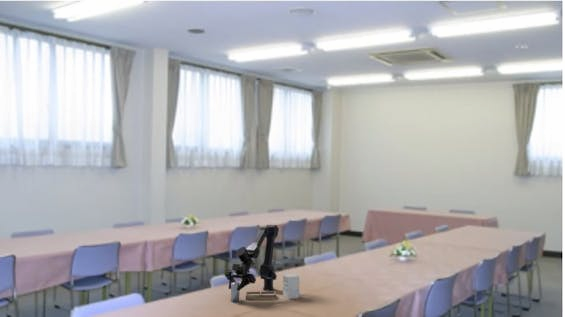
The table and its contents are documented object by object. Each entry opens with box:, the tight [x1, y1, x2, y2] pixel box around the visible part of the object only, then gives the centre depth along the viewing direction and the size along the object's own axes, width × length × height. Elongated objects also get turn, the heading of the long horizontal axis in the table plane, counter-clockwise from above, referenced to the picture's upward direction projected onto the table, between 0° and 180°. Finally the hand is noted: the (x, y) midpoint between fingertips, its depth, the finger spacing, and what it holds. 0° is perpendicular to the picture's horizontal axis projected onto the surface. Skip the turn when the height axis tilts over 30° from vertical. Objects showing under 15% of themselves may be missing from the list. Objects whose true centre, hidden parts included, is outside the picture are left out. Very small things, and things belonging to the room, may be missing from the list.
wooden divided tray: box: [245, 290, 277, 301], centre depth 294 cm, size 9×17×2 cm, turn 94°
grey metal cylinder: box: [230, 281, 241, 303], centre depth 286 cm, size 5×5×10 cm
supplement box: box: [282, 273, 300, 300], centre depth 296 cm, size 7×7×13 cm
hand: (233, 289), depth 285 cm, fingers open, 6 cm apart
